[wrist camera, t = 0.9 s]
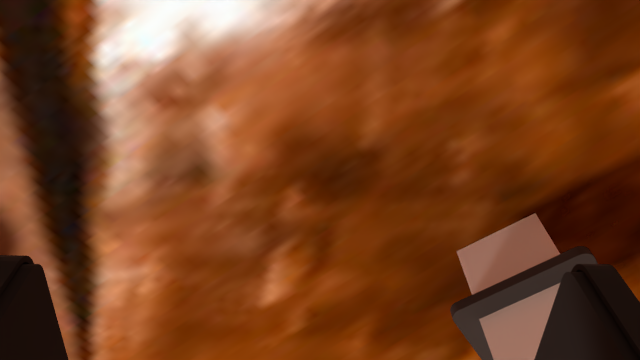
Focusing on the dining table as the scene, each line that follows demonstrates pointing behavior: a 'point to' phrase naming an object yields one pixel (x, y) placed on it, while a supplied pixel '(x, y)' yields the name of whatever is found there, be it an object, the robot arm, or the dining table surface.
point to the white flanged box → (512, 289)
